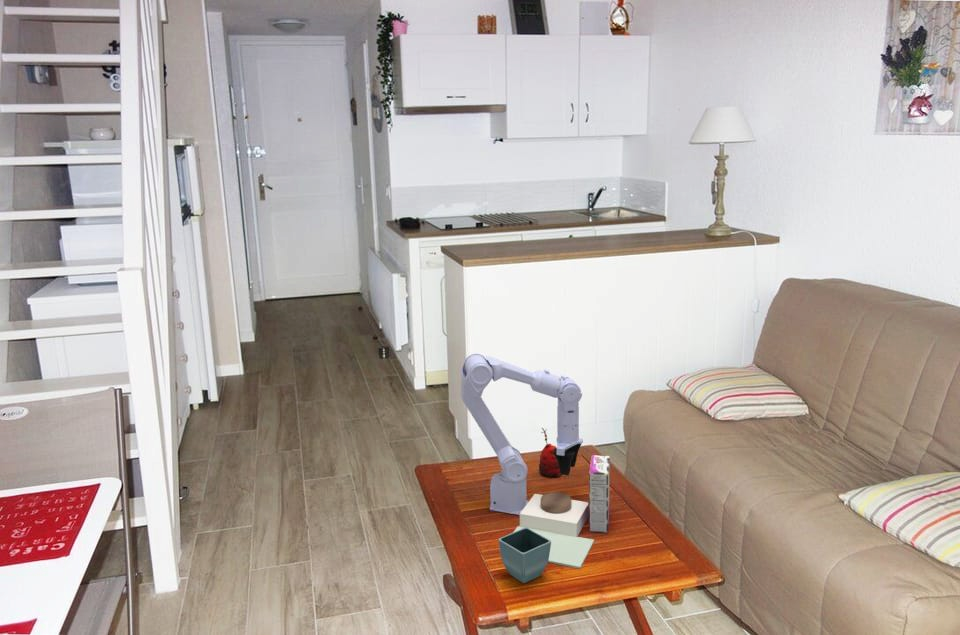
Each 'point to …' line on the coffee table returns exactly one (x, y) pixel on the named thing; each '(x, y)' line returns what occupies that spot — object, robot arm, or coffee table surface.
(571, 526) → the riser
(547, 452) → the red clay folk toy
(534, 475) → the coffee table surface
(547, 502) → the coaster
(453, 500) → the coffee table surface
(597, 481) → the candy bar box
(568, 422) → the robot arm
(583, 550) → the placemat
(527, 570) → the flower pot
